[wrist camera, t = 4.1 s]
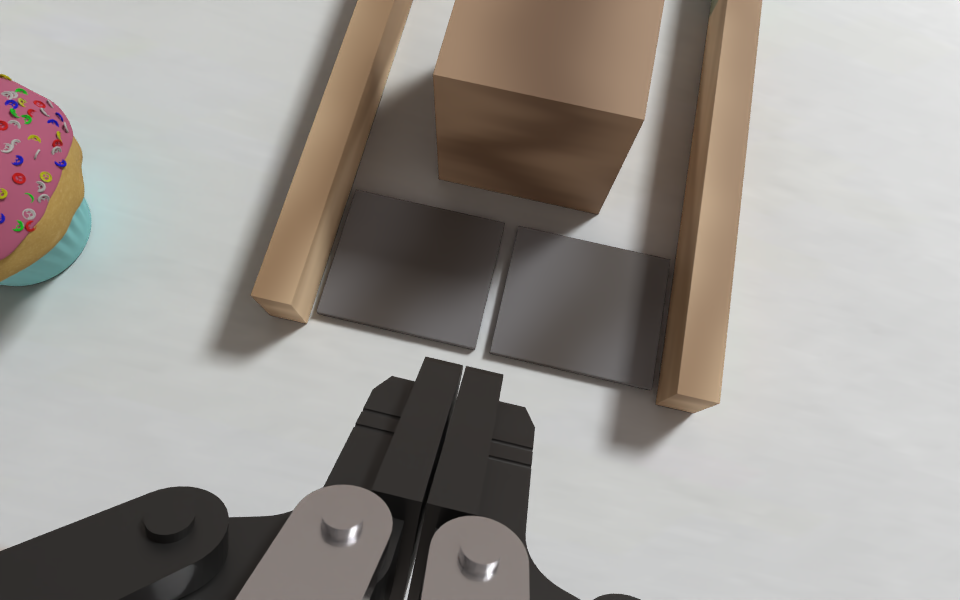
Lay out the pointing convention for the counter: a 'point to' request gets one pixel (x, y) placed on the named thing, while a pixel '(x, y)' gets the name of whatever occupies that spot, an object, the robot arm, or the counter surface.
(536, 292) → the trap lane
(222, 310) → the counter surface
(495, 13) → the walnut block
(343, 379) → the counter surface
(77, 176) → the cupcake
